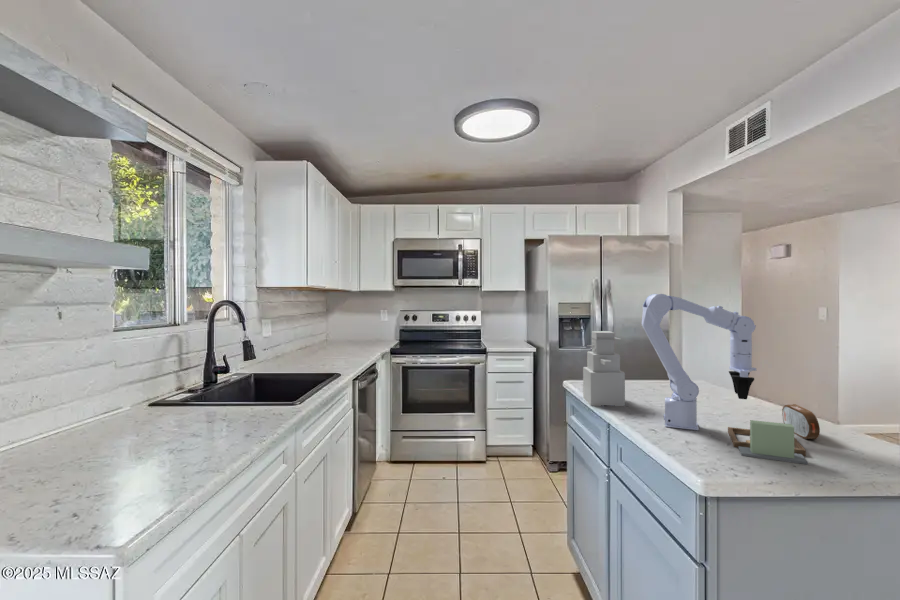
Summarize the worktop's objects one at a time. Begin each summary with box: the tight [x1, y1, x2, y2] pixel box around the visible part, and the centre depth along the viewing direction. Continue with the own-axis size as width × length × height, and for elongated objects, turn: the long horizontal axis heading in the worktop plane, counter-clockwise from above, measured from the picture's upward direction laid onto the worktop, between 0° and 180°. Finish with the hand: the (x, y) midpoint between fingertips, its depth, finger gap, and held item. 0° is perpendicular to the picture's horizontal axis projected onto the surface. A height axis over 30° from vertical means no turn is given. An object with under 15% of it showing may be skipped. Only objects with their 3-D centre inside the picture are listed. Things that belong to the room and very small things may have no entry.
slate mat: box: [737, 446, 809, 465], centre depth 116 cm, size 14×6×1 cm, turn 63°
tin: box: [781, 403, 821, 441], centre depth 132 cm, size 15×3×8 cm, turn 168°
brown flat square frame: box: [727, 426, 807, 457], centre depth 125 cm, size 16×15×2 cm
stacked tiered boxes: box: [582, 330, 626, 407], centre depth 175 cm, size 13×24×28 cm, turn 175°
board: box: [749, 420, 795, 458], centre depth 116 cm, size 9×3×8 cm, turn 63°
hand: (740, 396), depth 138 cm, fingers open, 7 cm apart
